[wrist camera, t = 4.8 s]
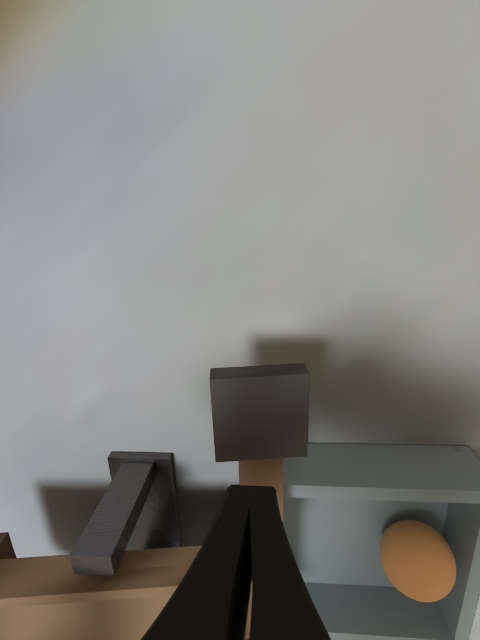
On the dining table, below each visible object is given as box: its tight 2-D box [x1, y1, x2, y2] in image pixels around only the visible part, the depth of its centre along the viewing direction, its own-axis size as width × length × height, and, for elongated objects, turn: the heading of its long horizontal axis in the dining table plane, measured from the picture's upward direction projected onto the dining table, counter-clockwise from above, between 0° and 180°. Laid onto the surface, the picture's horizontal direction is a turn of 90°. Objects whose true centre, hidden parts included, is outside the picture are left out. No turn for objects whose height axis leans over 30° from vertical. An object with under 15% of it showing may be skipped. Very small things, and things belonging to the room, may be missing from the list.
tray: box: [283, 443, 480, 640], centre depth 22 cm, size 12×12×4 cm
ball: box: [380, 520, 456, 602], centre depth 21 cm, size 4×4×4 cm
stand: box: [69, 452, 182, 576], centre depth 21 cm, size 4×10×7 cm, turn 2°
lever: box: [0, 363, 309, 640], centre depth 17 cm, size 19×17×5 cm
